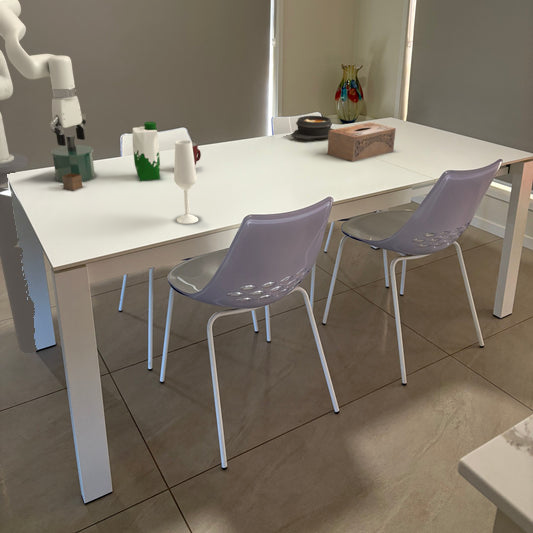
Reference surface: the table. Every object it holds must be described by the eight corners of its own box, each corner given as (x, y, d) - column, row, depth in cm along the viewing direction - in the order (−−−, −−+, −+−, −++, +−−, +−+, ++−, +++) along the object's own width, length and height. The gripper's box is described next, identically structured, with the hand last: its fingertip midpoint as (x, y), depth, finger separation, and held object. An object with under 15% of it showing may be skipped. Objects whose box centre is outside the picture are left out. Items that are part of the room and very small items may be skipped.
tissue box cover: (352, 161, 240) (354, 137, 235) (327, 154, 250) (328, 130, 245) (393, 151, 255) (395, 128, 250) (367, 144, 265) (369, 122, 260)
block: (63, 188, 206) (62, 176, 204) (72, 185, 209) (71, 172, 207) (73, 190, 204) (71, 178, 202) (82, 187, 207) (81, 174, 205)
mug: (191, 164, 234) (189, 139, 229) (206, 167, 230) (206, 142, 225) (173, 170, 226) (171, 145, 221) (189, 174, 222) (188, 148, 217)
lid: (42, 155, 211) (39, 137, 208) (71, 146, 223) (69, 129, 220) (73, 161, 205) (71, 142, 202) (101, 151, 217) (99, 133, 214)
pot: (48, 179, 215) (44, 153, 211) (74, 169, 226) (71, 145, 222) (77, 184, 209) (73, 158, 205) (102, 174, 220) (99, 149, 216)
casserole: (313, 145, 263) (314, 126, 259) (281, 138, 274) (281, 120, 270) (345, 135, 280) (346, 117, 276) (313, 129, 291) (314, 112, 287)
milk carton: (162, 179, 215) (158, 125, 207) (137, 182, 213) (132, 126, 204) (158, 173, 223) (155, 120, 214) (134, 175, 220) (129, 121, 212)
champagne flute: (199, 215, 184) (196, 139, 173) (197, 223, 178) (194, 145, 167) (177, 215, 183) (173, 139, 173) (175, 223, 177) (170, 145, 167)
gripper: (73, 89, 213) (80, 136, 220) (37, 96, 199) (46, 146, 206) (89, 90, 210) (96, 138, 217) (54, 98, 196) (62, 149, 203)
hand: (71, 142), depth 212 cm, fingers open, 9 cm apart
